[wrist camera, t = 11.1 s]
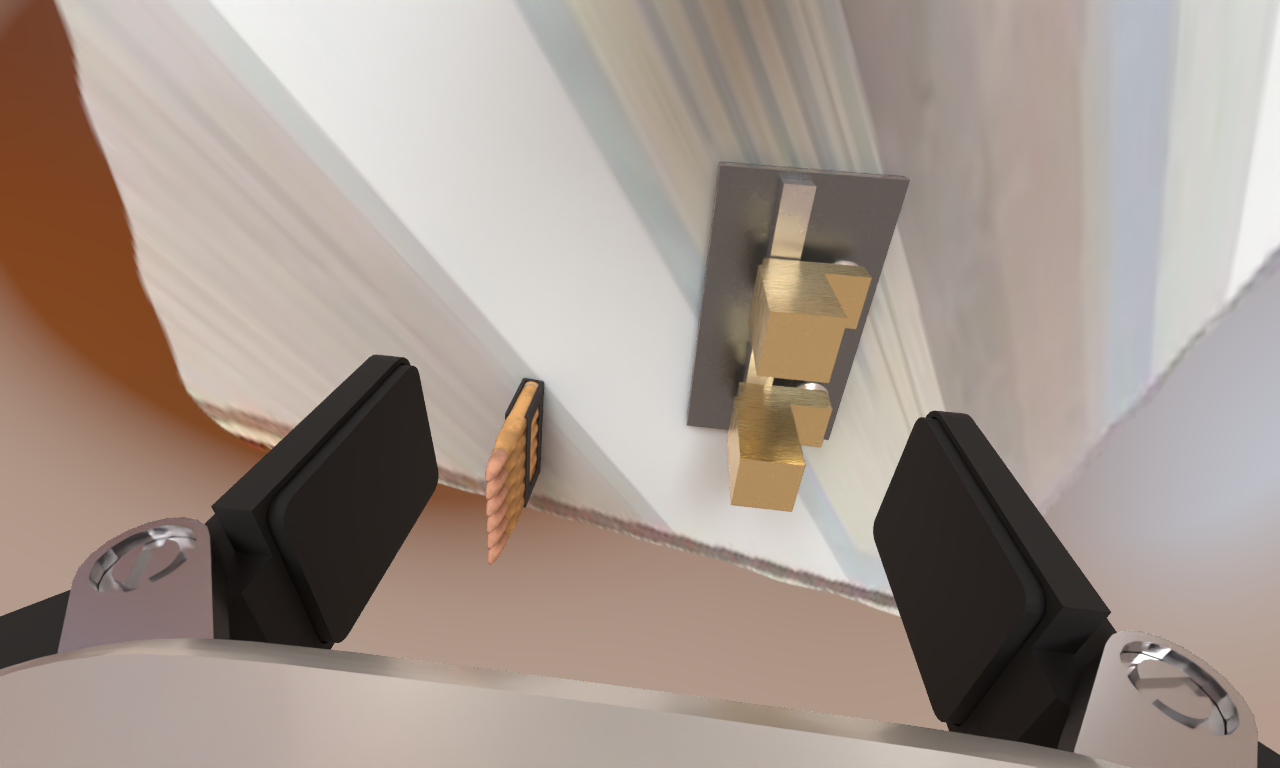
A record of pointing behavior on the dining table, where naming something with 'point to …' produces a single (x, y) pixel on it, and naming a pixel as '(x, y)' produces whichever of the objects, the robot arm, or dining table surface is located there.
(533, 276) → the dining table surface
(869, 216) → the hole plate
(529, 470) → the ammunition clip
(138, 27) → the dining table surface
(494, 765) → the robot arm
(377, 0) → the dining table surface
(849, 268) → the block
